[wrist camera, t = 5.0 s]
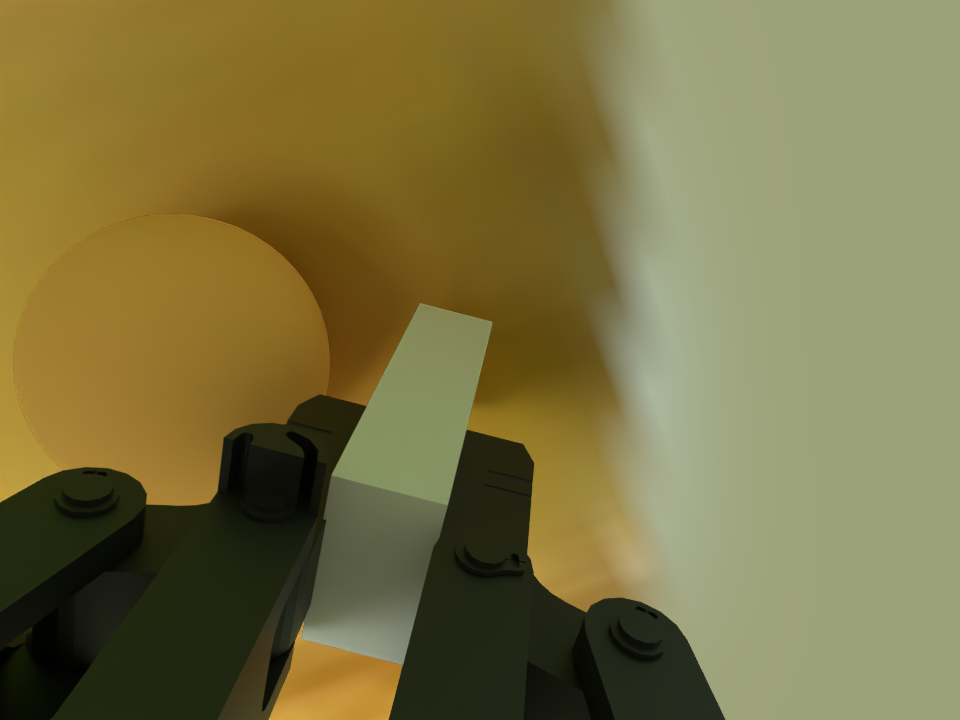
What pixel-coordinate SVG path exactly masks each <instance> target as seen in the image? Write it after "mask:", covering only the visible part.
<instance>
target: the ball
mask: <svg viewBox="0 0 960 720" xmlns="http://www.w3.org/2000/svg"><path fill="white" fill-rule="evenodd" d="M13 362H14V381H15V387H16V392H17V397H18V400H19V403H20V406H21V409H22V412H23V414H24V416H25V419H26V421H27V423H28V425H29V427H30V429H31V431H32V433H33V434H34V436H35V438H36V439H37V441H38V443H39V444H40V445H41V447H42V448H43V449H44V451H45V452H46V453H47V454H48V456H49V457H50V458H51V459H52V460H53V461H54V462H55V463H56V464H57V465H58V466H59V467H60V468H61V469H62V470H69V469H76V468H82V467H96V468H109V469H113V470H116V471H120V472H123V473H127V474H129V475H130V476H132V477H133V478H135V479H136V480H138V481H139V482H141V484H142V486H143V488H144V489H145V491H146V493H147V502H146V504H150V505H174V506H185V505H200V504H205V503H210V501H211V500H212V499H213V497H214V496H215V495H216V493H217V491H218V483H219V474H220V466H221V457H222V449H223V440H224V437H225V436H226V435H228V434H229V433H230V432H232V431H233V430H234V429H236V428H240V427H243V426H246V425H250V424H257V423H277V424H284V425H285V424H287V420H288V419H289V417H290V416H291V415H292V413H293V412H294V410H295V409H296V407H297V406H298V405H299V404H301V403H303V402H305V401H307V400H309V399H311V398H313V397H315V396H317V395H319V394H321V395H325V396H326V394H327V389H328V383H329V375H330V349H329V342H328V336H327V329H326V326H325V323H324V319H323V316H322V313H321V311H320V308H319V306H318V304H317V301H316V299H315V297H314V295H313V294H312V292H311V290H310V289H309V287H308V285H307V284H306V282H305V281H304V280H303V278H302V277H301V276H300V274H299V273H298V272H297V270H296V269H295V268H294V267H293V266H292V265H291V264H290V263H289V262H288V261H287V260H286V259H285V258H284V257H283V256H282V255H281V254H280V253H279V252H277V251H276V250H275V249H274V248H273V247H271V246H270V245H269V244H267V243H266V242H264V241H263V240H261V239H260V238H258V237H256V236H255V235H253V234H251V233H249V232H247V231H245V230H243V229H241V228H239V227H237V226H234V225H231V224H228V223H225V222H222V221H219V220H216V219H211V218H207V217H202V216H197V215H188V214H158V215H147V216H142V217H137V218H132V219H128V220H125V221H121V222H118V223H116V224H113V225H110V226H108V227H105V228H102V229H101V230H99V231H97V232H95V233H93V234H92V235H90V236H88V237H86V238H85V239H83V240H81V241H79V242H78V243H76V244H75V245H74V246H73V247H71V248H70V249H69V250H68V251H66V252H65V253H64V254H63V255H62V256H61V257H60V258H59V259H58V260H56V261H55V262H54V264H53V265H52V266H51V267H50V268H49V269H48V270H47V271H46V272H45V274H44V275H43V276H42V278H41V279H40V281H39V283H38V284H37V286H36V287H35V289H34V290H33V292H32V294H31V295H30V297H29V298H28V301H27V303H26V305H25V308H24V310H23V312H22V315H21V318H20V322H19V325H18V329H17V333H16V337H15V344H14V355H13Z"/></svg>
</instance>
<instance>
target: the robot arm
mask: <svg viewBox="0 0 960 720" xmlns="http://www.w3.org/2000/svg"><path fill="white" fill-rule="evenodd" d="M492 324H493V322H492V321H488V320H484V319H480V318H476V317H473V316H469V315H465V314H461V313H457V312H453V311H449V310H445V309H441V308H437V307H434V306H430V305H426V304H422V303H420V304H419V306H418V308H417V310H416V312H415V314H414V316H413V318H412V320H411V322H410V324H409V326H408V328H407V329H406V331H405V333H404V335H403V337H402V339H401V341H400V343H399V345H398V347H397V349H396V351H395V353H394V355H393V357H392V359H391V361H390V362H389V364H388V366H387V368H386V370H385V372H384V374H383V376H382V378H381V380H380V382H379V384H378V386H377V388H376V390H375V392H374V394H373V395H372V397H371V399H370V401H369V403H368V405H367V406H364V405H360V404H356V403H352V402H348V401H344V400H340V399H336V398H332V397H329V396H325V395H321V394H319V395H317V396H315V397H313V398H311V399H309V400H307V401H305V402H303V403H301V404H299V405H298V406H297V407H296V409H295V410H294V412H293V413H292V415H291V416H290V417H289V419H288V420H287V424H285V425H284V424H277V423H257V424H250V425H246V426H243V427H240V428H236V429H234V430H233V431H232V432H230V433H229V434H228V435H226V436H225V437H224V440H223V449H222V457H221V466H220V474H219V483H218V491H217V493H216V495H215V496H214V497H213V499H212V500H211V501H210V503H205V504H200V505H185V506H174V505H150V504H146V502H147V493H146V491H145V489H144V488H143V486H142V484H141V482H139V481H138V480H136V479H135V478H133V477H132V476H130V475H129V474H127V473H123V472H120V471H116V470H113V469H109V468H96V467H82V468H76V469H69V470H63V471H61V472H58V473H55V474H53V475H50V476H48V477H45V478H43V479H41V480H40V481H38V482H36V483H34V484H32V485H31V486H29V487H27V488H25V489H23V490H22V491H20V492H18V493H16V494H15V495H13V496H11V497H9V498H7V499H6V500H4V501H2V502H0V720H268V719H269V717H270V714H271V712H272V710H273V707H274V705H275V703H276V700H277V698H278V696H279V693H280V691H281V688H282V686H283V684H284V681H285V679H286V677H287V674H288V672H289V669H290V666H291V660H292V655H293V649H294V643H295V639H296V637H297V635H298V632H299V630H300V628H301V626H302V623H303V621H304V626H303V631H302V637H301V639H304V640H307V641H311V642H315V643H319V644H323V645H327V646H331V647H335V648H339V649H343V650H346V651H350V652H354V653H358V654H362V655H366V656H370V657H374V658H378V659H381V660H385V661H389V662H393V663H397V664H401V665H403V667H402V671H401V675H400V679H399V682H398V686H397V690H396V694H395V698H394V702H393V706H392V710H391V713H390V717H389V720H725V718H724V716H723V714H722V712H721V710H720V707H719V705H718V703H717V701H716V699H715V697H714V695H713V693H712V691H711V689H710V687H709V684H708V682H707V680H706V678H705V676H704V674H703V672H702V670H701V668H700V666H699V664H698V661H697V660H696V657H695V655H694V653H693V651H692V649H691V647H690V645H689V643H688V641H687V639H686V638H685V636H684V635H683V633H682V632H681V631H680V629H679V628H678V626H677V625H676V624H675V623H673V622H672V621H671V620H670V619H669V618H667V617H666V616H665V615H664V614H663V613H661V612H660V611H658V610H656V609H654V608H652V607H650V606H648V605H646V604H644V603H642V602H638V601H634V600H629V599H625V598H608V599H603V600H601V601H599V602H597V603H595V604H593V605H591V606H590V608H589V610H588V612H587V613H586V612H584V611H582V610H580V609H578V608H576V607H574V606H572V605H570V604H568V603H566V602H565V601H563V600H561V599H560V598H558V597H556V596H555V595H553V594H552V593H551V592H549V591H548V590H547V589H546V588H545V587H544V586H542V585H541V584H540V582H539V581H538V580H537V579H536V577H535V576H534V575H533V573H534V572H533V568H532V563H531V559H530V558H529V557H528V555H527V548H528V535H529V522H530V509H531V496H532V482H533V470H534V462H533V460H532V459H531V457H530V455H529V453H528V452H527V450H526V448H525V446H524V445H523V444H520V443H516V442H512V441H509V440H505V439H501V438H497V437H493V436H489V435H485V434H481V433H477V432H474V431H470V430H466V429H467V425H468V421H469V417H470V413H471V409H472V405H473V401H474V397H475V393H476V389H477V385H478V381H479V377H480V373H481V369H482V364H483V360H484V356H485V352H486V348H487V344H488V340H489V336H490V332H491V328H492ZM304 619H305V620H304Z"/></svg>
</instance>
